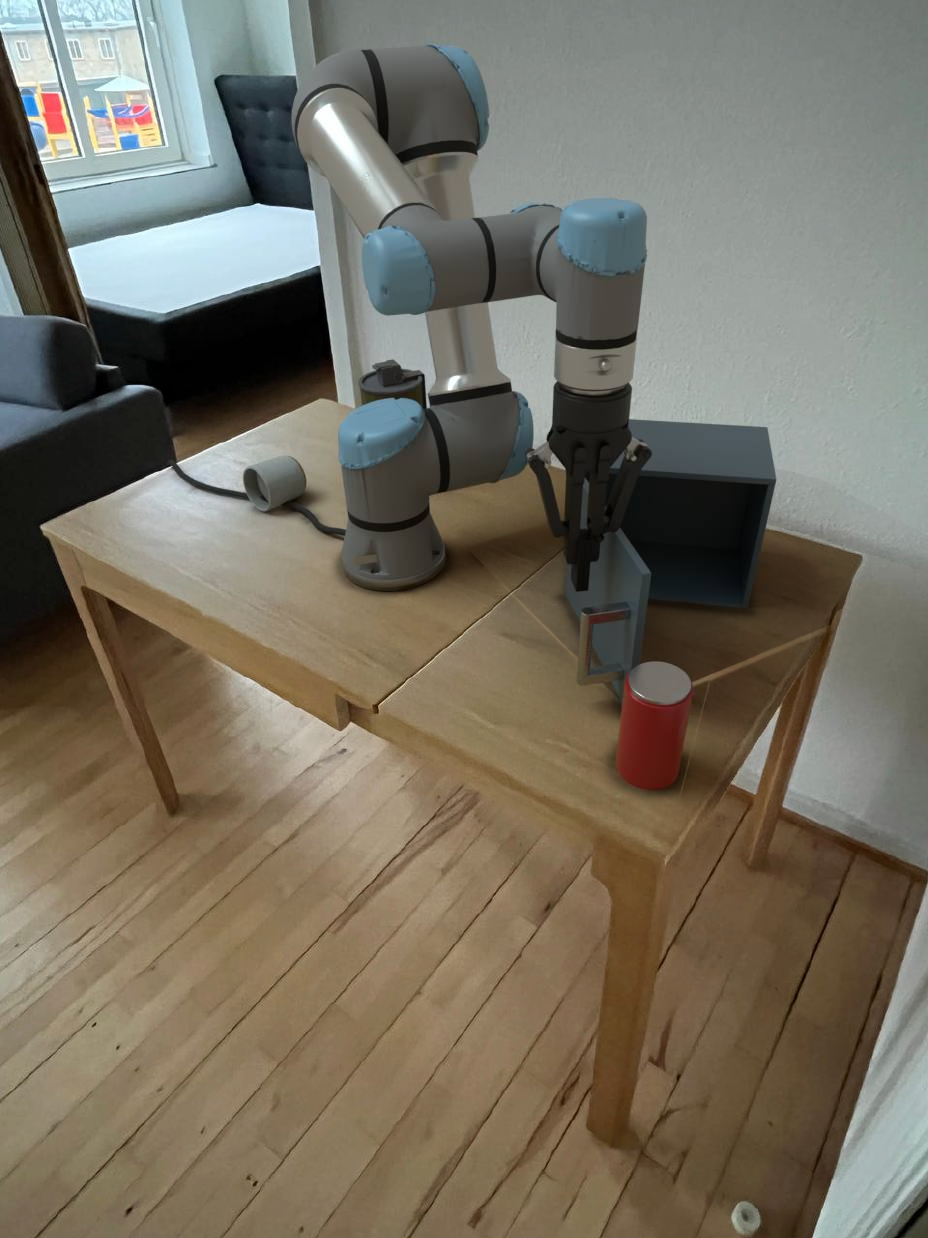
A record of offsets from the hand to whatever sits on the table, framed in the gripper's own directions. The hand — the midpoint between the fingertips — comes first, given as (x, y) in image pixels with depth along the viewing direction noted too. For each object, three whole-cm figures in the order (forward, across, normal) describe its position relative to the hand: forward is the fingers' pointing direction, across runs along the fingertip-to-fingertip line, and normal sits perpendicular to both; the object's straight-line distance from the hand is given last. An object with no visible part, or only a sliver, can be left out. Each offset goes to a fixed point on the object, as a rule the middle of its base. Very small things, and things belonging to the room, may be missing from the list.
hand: (579, 584), depth 92 cm
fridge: (+13, +17, +19) cm, 28 cm away
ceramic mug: (+13, -40, +51) cm, 66 cm away
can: (+13, +4, -17) cm, 21 cm away
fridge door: (+12, +1, +3) cm, 13 cm away
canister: (+13, -18, +56) cm, 60 cm away
